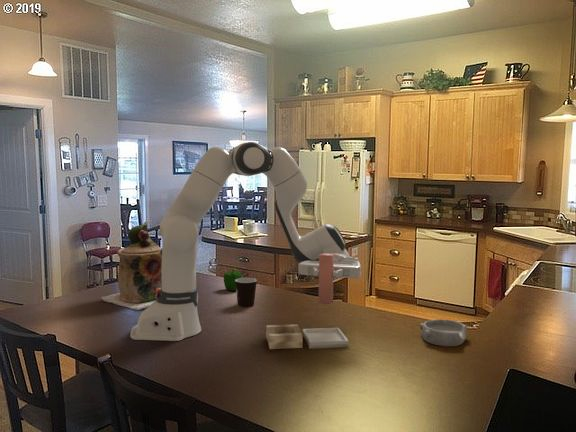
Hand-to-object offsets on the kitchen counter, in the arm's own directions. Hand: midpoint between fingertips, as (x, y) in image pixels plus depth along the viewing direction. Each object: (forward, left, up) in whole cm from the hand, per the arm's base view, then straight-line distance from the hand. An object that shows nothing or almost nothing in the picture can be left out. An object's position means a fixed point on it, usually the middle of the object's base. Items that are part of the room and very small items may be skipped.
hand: (325, 274), depth 146 cm
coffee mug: (-22, +45, -22) cm, 54 cm away
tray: (0, +1, -21) cm, 22 cm away
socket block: (-13, +1, -21) cm, 25 cm away
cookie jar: (-64, +56, -22) cm, 88 cm away
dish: (+38, -2, -22) cm, 44 cm away
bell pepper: (-27, +68, -22) cm, 76 cm away
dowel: (0, +1, -9) cm, 9 cm away
